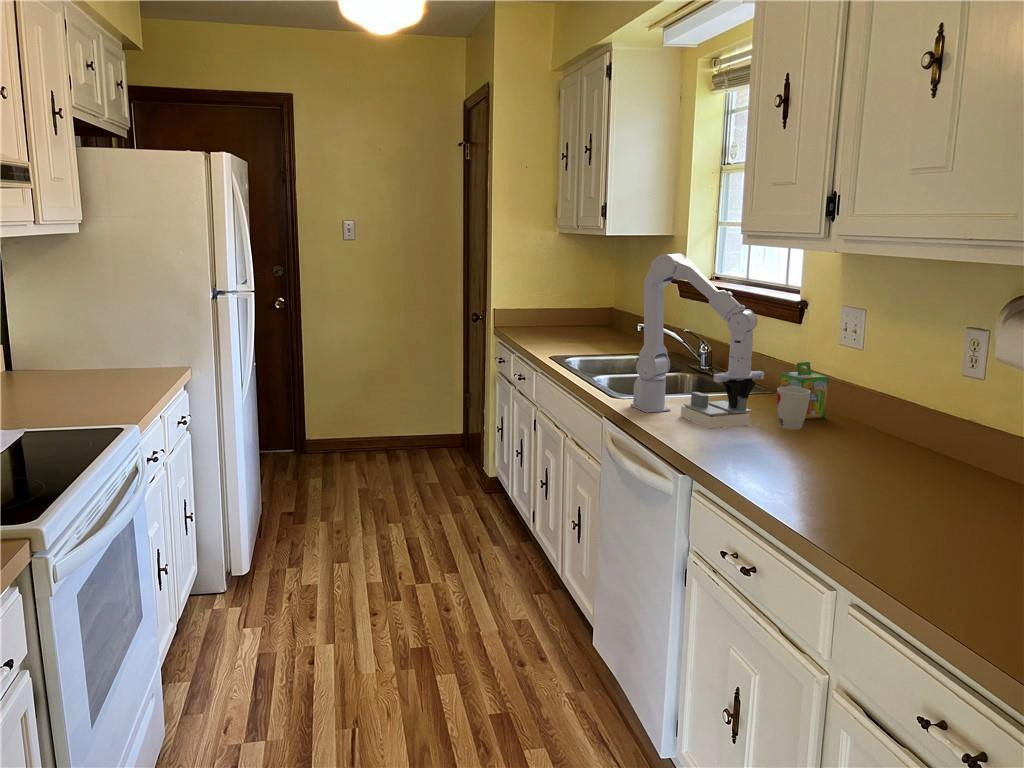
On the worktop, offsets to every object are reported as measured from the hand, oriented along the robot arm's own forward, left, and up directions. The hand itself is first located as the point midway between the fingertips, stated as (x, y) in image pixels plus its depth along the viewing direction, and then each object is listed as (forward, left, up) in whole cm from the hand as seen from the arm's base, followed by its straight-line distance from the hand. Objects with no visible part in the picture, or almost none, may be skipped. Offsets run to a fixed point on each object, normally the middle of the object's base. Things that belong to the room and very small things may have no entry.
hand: (737, 407), depth 214 cm
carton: (-3, -4, -4) cm, 7 cm away
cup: (+9, +11, -4) cm, 15 cm away
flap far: (-3, 0, -1) cm, 4 cm away
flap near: (-4, -7, -1) cm, 8 cm away
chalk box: (-1, +23, -4) cm, 23 cm away
